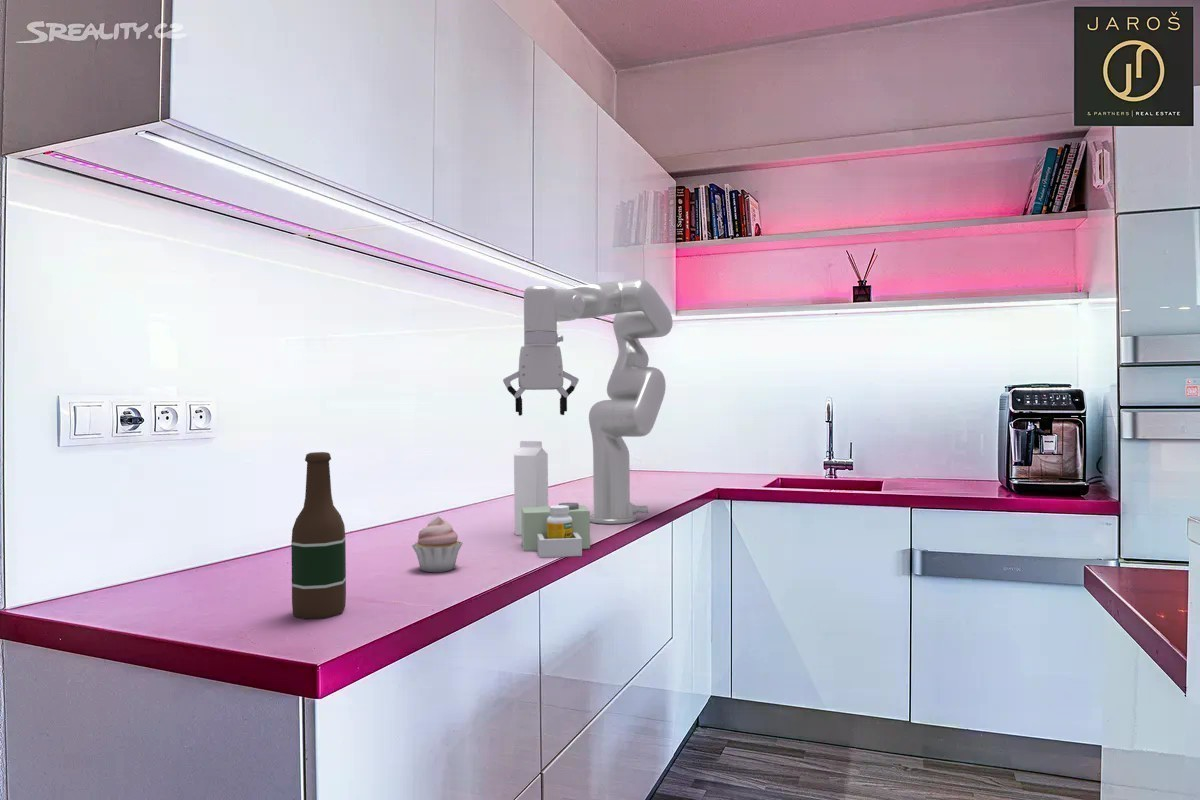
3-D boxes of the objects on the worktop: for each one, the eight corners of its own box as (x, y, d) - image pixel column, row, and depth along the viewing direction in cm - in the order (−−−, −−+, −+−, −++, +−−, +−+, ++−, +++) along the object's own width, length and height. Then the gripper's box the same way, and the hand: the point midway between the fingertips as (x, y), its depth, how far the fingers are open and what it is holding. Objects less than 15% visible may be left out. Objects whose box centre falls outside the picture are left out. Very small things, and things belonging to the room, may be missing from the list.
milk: (527, 531, 185) (526, 440, 185) (549, 532, 182) (548, 440, 183) (514, 535, 179) (513, 441, 180) (536, 536, 177) (535, 441, 177)
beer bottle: (339, 603, 119) (338, 450, 120) (352, 614, 113) (351, 452, 113) (287, 610, 115) (285, 452, 115) (297, 623, 109) (295, 455, 109)
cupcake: (429, 577, 137) (428, 521, 137) (403, 569, 143) (402, 516, 143) (472, 569, 143) (472, 515, 143) (445, 561, 150) (445, 511, 150)
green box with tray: (584, 540, 171) (583, 500, 171) (595, 555, 155) (595, 511, 155) (521, 543, 169) (521, 502, 169) (526, 558, 152) (525, 513, 152)
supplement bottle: (553, 549, 161) (552, 504, 161) (576, 550, 159) (576, 505, 159) (542, 554, 156) (542, 507, 156) (566, 555, 154) (566, 508, 154)
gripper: (575, 342, 180) (576, 414, 180) (502, 341, 177) (502, 415, 177) (580, 339, 172) (580, 415, 172) (503, 339, 169) (503, 416, 169)
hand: (541, 415), depth 174 cm, fingers open, 9 cm apart
